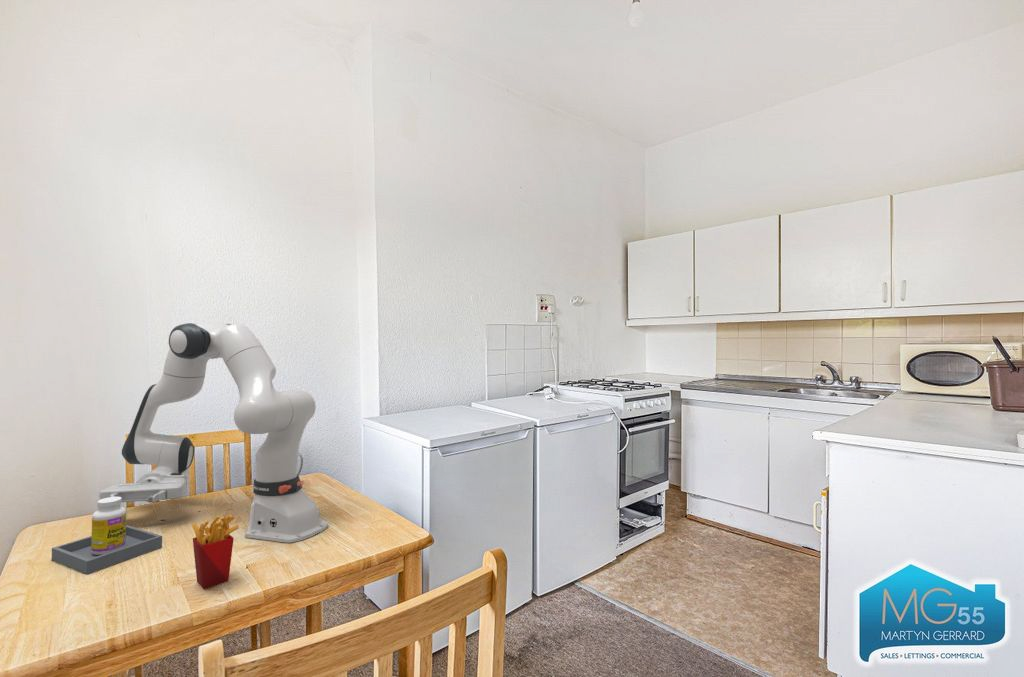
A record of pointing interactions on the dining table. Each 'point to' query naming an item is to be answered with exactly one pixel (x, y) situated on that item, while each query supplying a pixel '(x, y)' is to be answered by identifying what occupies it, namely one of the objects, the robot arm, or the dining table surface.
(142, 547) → the tray
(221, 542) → the french fries
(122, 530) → the supplement bottle
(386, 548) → the dining table surface
